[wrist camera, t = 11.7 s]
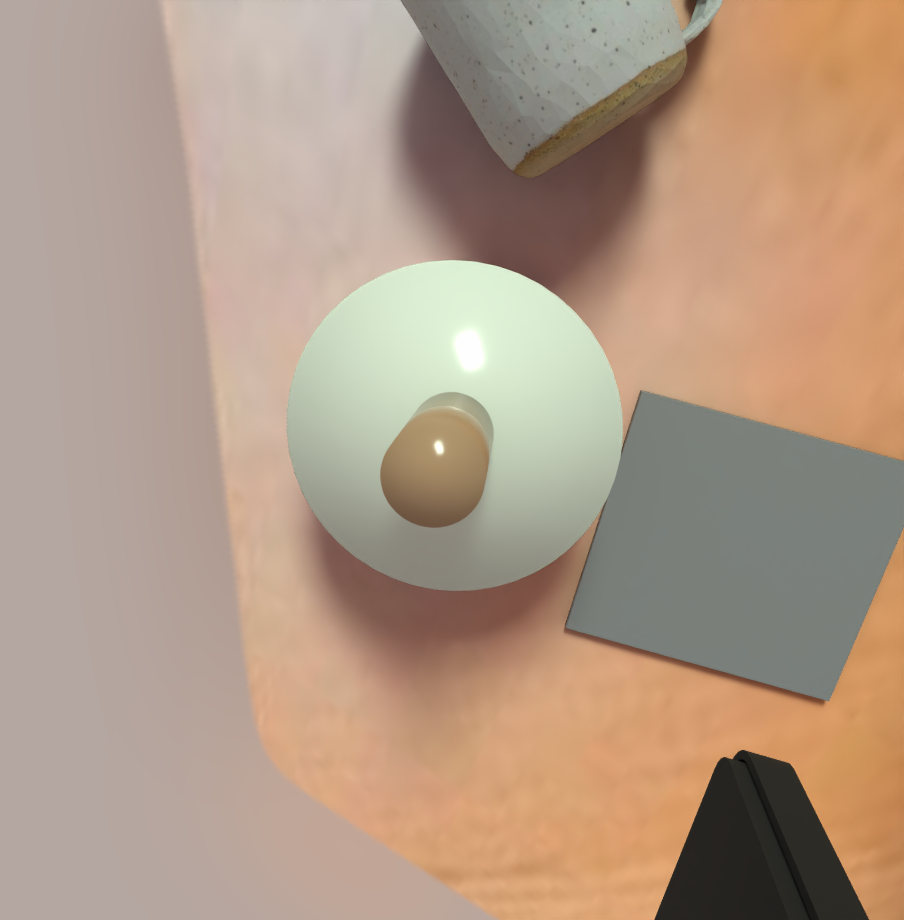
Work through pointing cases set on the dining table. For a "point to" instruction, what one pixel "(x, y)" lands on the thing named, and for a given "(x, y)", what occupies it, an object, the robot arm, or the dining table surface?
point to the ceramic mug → (556, 67)
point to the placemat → (739, 545)
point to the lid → (454, 425)
